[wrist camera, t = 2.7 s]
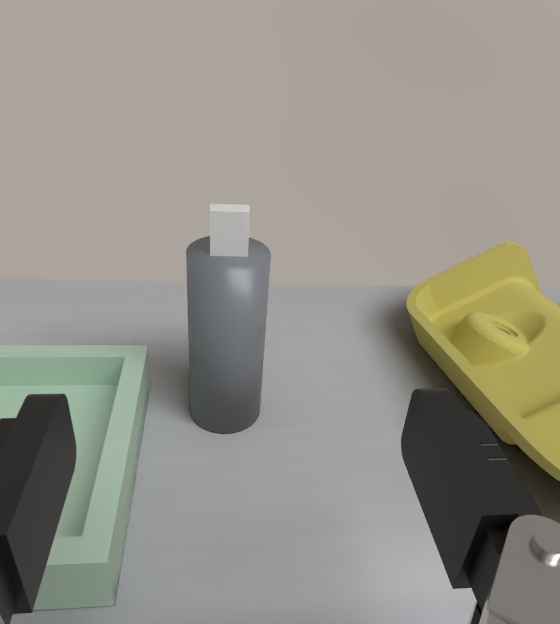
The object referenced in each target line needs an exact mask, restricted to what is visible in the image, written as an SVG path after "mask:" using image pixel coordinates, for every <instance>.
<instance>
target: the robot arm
mask: <svg viewBox="0 0 560 624" xmlns="http://www.w3.org/2000/svg"><path fill="white" fill-rule="evenodd" d="M401 449H402V456H403V460H404V463H405V466H406V468H407V471H408V473H409V476H410V479H411V481H412V484H413V486H414V489H415V492H416V494H417V497H418V499H419V502H420V505H421V507H422V510H423V512H424V515H425V518H426V520H427V523H428V525H429V528H430V531H431V533H432V536H433V538H434V541H435V544H436V546H437V549H438V551H439V554H440V557H441V559H442V562H443V564H444V567H445V570H446V572H447V575H448V577H449V580H450V583H451V585H452V588H453V589H457V588H472V590H473V593H474V595H475V597H476V600H477V601H476V603H475V605H474V607H473V611H472V614H471V617H470V620H469V624H560V524H559V523H558V522H556V521H554V520H552V519H549V518H546V517H543V515H542V514H541V512H540V511H539V509H538V507H537V506H536V504H535V502H534V501H533V499H532V497H531V496H530V494H529V492H528V491H527V489H526V487H525V486H524V484H523V483H522V481H521V479H520V478H519V476H518V474H517V473H516V471H515V469H514V468H513V466H512V464H511V463H510V461H507V456H506V454H505V453H504V451H503V449H502V448H501V446H498V441H497V440H496V438H495V436H494V435H493V433H492V431H491V430H490V428H489V426H488V425H487V424H486V423H485V422H484V421H483V420H481V419H480V418H479V417H478V416H477V415H476V414H475V413H473V412H472V411H471V410H460V408H459V406H458V404H457V403H456V401H455V399H454V397H453V395H452V394H451V392H450V391H449V390H448V389H446V388H438V389H415V390H414V391H413V393H412V396H411V400H410V404H409V408H408V412H407V416H406V420H405V424H404V428H403V432H402V438H401ZM76 452H77V450H76V440H75V435H74V430H73V425H72V420H71V414H70V409H69V404H68V400H67V397H66V395H65V394H29V395H27V396H26V398H25V400H24V402H23V404H22V406H21V408H20V410H19V412H18V415H17V417H16V418H1V419H0V624H10V621H11V618H12V615H13V614H17V613H32V611H33V608H34V605H35V601H36V598H37V595H38V591H39V588H40V584H41V581H42V578H43V574H44V571H45V568H46V564H47V561H48V557H49V554H50V551H51V547H52V544H53V541H54V537H55V534H56V531H57V527H58V524H59V520H60V517H61V514H62V510H63V507H64V504H65V500H66V497H67V494H68V490H69V487H70V483H71V480H72V477H73V473H74V470H75V464H76Z"/></svg>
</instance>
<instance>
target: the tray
mask: <svg viewBox="0 0 560 624" xmlns="http://www.w3.org/2000/svg"><path fill="white" fill-rule="evenodd" d="M150 385H151V381H150V368H149V355H148V345H0V419H1V418H16V417H17V415H18V412H19V410H20V408H21V406H22V404H23V402H24V400H25V398H26V396H27V395H29V394H65V395H66V397H67V400H68V404H69V409H70V414H71V420H72V425H73V430H74V435H75V440H76V450H77V452H76V464H75V470H74V473H73V477H72V480H71V483H70V487H69V490H68V494H67V497H66V500H65V504H64V507H63V510H62V514H61V517H60V520H59V524H58V527H57V531H56V534H55V537H54V541H53V544H52V547H51V551H50V554H49V557H48V561H47V564H46V568H45V571H44V574H43V578H42V581H41V584H40V588H39V591H38V595H37V598H36V601H35V605H34V608H33V610H49V609H66V608H84V607H101V606H115V601H116V594H117V588H118V582H119V576H120V570H121V564H122V557H123V551H124V545H125V539H126V533H127V527H128V521H129V514H130V508H131V502H132V496H133V490H134V484H135V477H136V471H137V465H138V459H139V453H140V447H141V441H142V434H143V428H144V422H145V416H146V410H147V404H148V397H149V391H150Z"/></svg>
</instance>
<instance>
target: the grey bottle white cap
mask: <svg viewBox="0 0 560 624" xmlns="http://www.w3.org/2000/svg"><path fill="white" fill-rule="evenodd" d="M249 221H250V210H249V205H233V204H232V205H231V204H210V236H208V237H204V238H201V239H198V240H196V241H194V242H193V243H191V244H190V245H189V246H188V248H187V251H186V255H187V256H186V257H187V298H188V339H189V380H190V413H191V416H192V419H193V420H194V421H195V423H196V424H197V425H199V426H200V427H202V428H203V429H205V430H207V431H210V432H214V433H220V434H229V433H236V432H239V431H242V430H244V429H246V428H248V427H250V426H251V425H252V424H253V423H254V422H255V421H256V420H257V418H258V416H259V413H260V401H261V386H262V372H263V358H264V343H265V329H266V314H267V300H268V286H269V270H270V257H271V254H270V250H269V249H268V248H267V246H265V245H264V244H263V243H261V242H259V241H257V240H254V239H251V238H249Z"/></svg>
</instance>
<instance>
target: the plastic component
mask: <svg viewBox="0 0 560 624" xmlns="http://www.w3.org/2000/svg"><path fill="white" fill-rule="evenodd" d="M406 306H407V309H408V312H409V315H410V319H411V322H412V325H413V328H414V331H415V334H416V337H417V340H418V342H419V344H420V345H421V346H422V347H423V349H424V350H425V351H426V352H427V353H428V354H429V356H430V357H431V358H432V359H433V360H434V361H435V363H436V364H437V365H438V366H439V367H440V368H441V370H442V371H443V372H444V373H445V374H446V375H447V377H448V378H449V379H450V380H451V381H452V382H453V384H454V385H455V386H456V387H457V388H458V389H459V391H460V392H461V393H462V394H463V395H464V396H465V398H466V399H467V400H468V401H469V402H470V404H471V405H472V406H473V407H474V408H475V409H476V411H477V412H478V413H479V414H480V415H481V416H482V418H483V419H484V420H485V421H486V422H487V423H488V425H489V426H490V427H491V428H492V429H493V430H494V432H495V433H496V434H497V435H498V436H499V437H500V439H501V440H502V441H504V442H505V443H507V444H512V445H515V444H517V445H518V446H519V447H520V448H521V449H522V450H523V451H524V452H525V453H526V454H527V455H528V456H529V457H530V458H531V459H532V460H533V461H534V462H536V463H537V464H538V465H539V466H540V467H541V468H543V469H544V470H545V471H546V472H547V473H549V474H550V475H551V476H553V477H554V478H555V479H557V480H558V481H559V482H560V307H559V306H557V305H556V304H555V303H553V302H552V301H550V300H549V299H547V298H546V297H544V296H543V295H542V293H541V290H540V287H539V285H538V282H537V279H536V276H535V274H534V271H533V268H532V265H531V262H530V260H529V257H528V254H527V251H526V250H525V249H524V247H522V246H521V245H519V244H517V243H515V242H513V241H508V242H503V243H501V244H499V245H497V246H495V247H493V248H491V249H488V250H486V251H484V252H482V253H480V254H478V255H476V256H474V257H472V258H470V259H468V260H466V261H463V262H461V263H459V264H457V265H455V266H453V267H451V268H449V269H447V270H445V271H443V272H441V273H438V274H436V275H434V276H432V277H430V278H428V279H426V280H424V281H423V282H421V283H420V284H418V285H417V286H416V287H415V288H414V289H413V290H412V291H411V292H410V294H409V295H408V298H407V301H406Z"/></svg>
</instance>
